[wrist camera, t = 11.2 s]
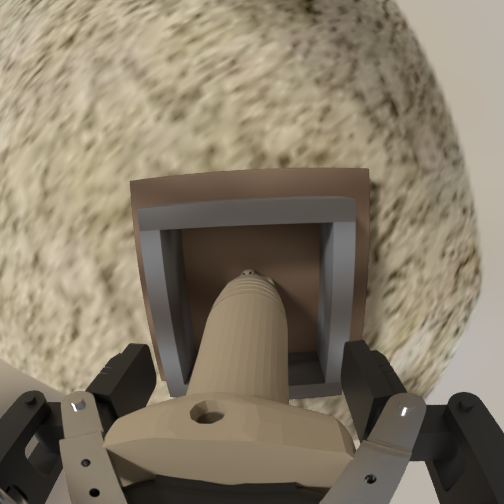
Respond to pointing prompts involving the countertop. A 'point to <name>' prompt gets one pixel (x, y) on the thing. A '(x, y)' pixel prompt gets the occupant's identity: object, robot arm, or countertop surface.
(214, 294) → the socket block
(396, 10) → the countertop surface
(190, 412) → the handle
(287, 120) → the countertop surface
